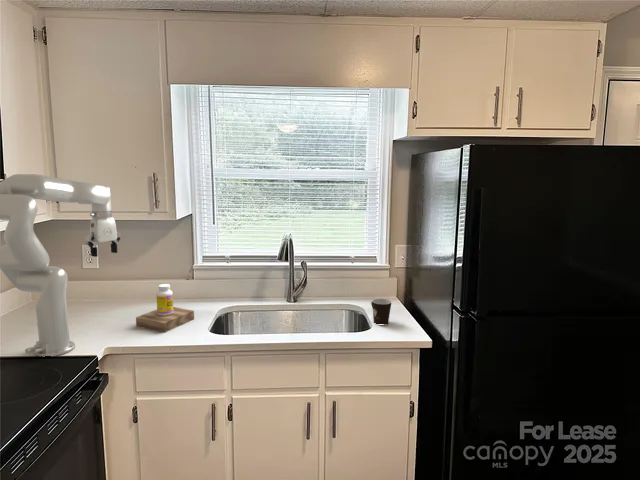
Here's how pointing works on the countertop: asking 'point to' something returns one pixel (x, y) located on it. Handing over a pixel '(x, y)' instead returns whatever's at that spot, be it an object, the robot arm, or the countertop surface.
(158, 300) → the supplement bottle
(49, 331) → the robot arm
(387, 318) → the coffee mug
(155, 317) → the walnut base
